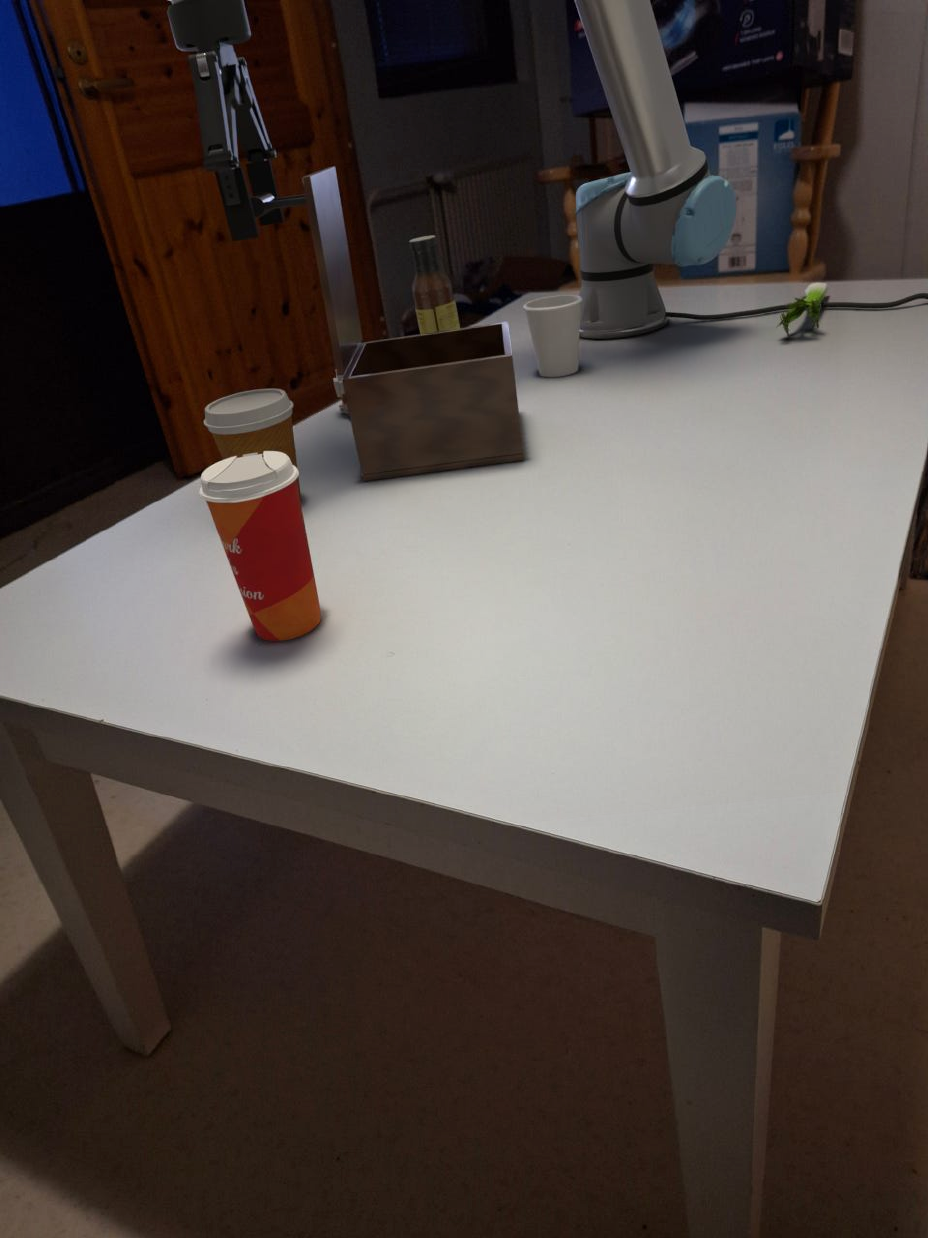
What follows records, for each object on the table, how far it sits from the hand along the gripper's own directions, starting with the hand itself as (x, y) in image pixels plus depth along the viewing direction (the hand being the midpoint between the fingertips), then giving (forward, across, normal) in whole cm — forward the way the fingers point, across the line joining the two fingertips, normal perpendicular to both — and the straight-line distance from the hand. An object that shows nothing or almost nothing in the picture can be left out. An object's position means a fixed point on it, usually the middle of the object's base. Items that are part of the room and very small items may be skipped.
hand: (260, 231), depth 98 cm
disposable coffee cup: (+27, +13, -3) cm, 30 cm away
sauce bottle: (+27, -36, +15) cm, 47 cm away
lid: (+5, 0, +8) cm, 9 cm away
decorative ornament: (+27, -21, +4) cm, 34 cm away
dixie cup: (+27, -27, +32) cm, 50 cm away
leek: (+28, -38, +71) cm, 85 cm away
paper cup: (+27, +41, +4) cm, 49 cm away
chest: (+27, 0, +16) cm, 31 cm away
